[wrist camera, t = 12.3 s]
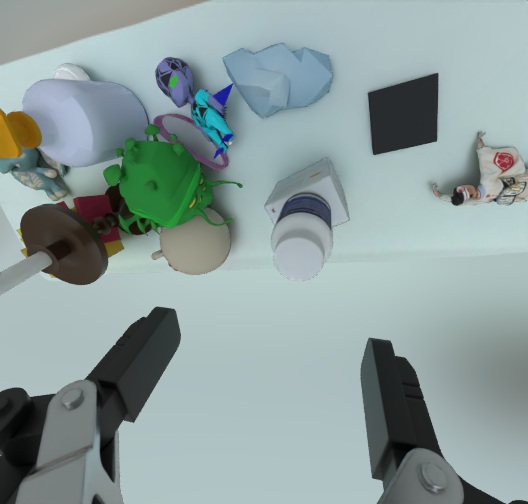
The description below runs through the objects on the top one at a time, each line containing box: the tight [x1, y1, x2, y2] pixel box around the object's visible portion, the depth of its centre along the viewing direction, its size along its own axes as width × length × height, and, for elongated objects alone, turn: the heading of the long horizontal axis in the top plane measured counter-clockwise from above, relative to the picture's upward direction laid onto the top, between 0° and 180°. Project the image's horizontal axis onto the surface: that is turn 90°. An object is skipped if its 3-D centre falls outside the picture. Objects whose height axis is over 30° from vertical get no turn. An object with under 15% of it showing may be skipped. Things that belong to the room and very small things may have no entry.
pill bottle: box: [271, 191, 333, 281], centre depth 25 cm, size 5×5×10 cm
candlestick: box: [0, 182, 152, 295], centre depth 31 cm, size 11×11×35 cm
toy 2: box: [151, 207, 231, 275], centre depth 40 cm, size 10×12×10 cm
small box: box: [264, 157, 350, 227], centre depth 34 cm, size 8×6×10 cm
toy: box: [17, 195, 125, 278], centre depth 44 cm, size 13×10×15 cm
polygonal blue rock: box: [222, 43, 333, 118], centre depth 31 cm, size 13×7×5 cm, turn 94°
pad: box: [368, 73, 438, 155], centre depth 32 cm, size 7×7×1 cm
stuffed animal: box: [0, 146, 67, 201], centre depth 42 cm, size 11×7×12 cm
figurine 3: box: [432, 131, 528, 206], centre depth 33 cm, size 6×8×15 cm
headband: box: [153, 114, 228, 170], centre depth 37 cm, size 11×4×2 cm, turn 59°
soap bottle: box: [0, 79, 148, 167], centre depth 29 cm, size 9×9×25 cm
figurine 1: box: [155, 57, 235, 160], centre depth 33 cm, size 7×6×12 cm
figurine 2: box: [103, 124, 243, 236], centre depth 33 cm, size 13×15×10 cm
